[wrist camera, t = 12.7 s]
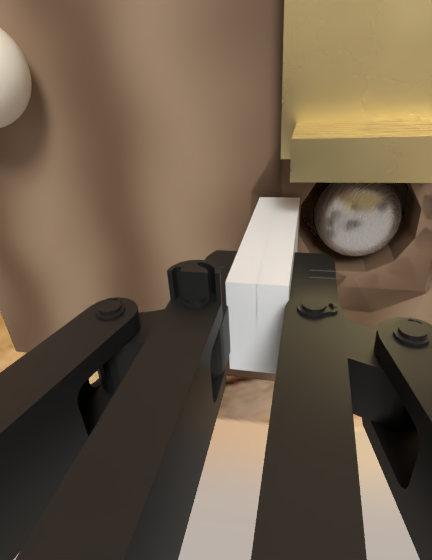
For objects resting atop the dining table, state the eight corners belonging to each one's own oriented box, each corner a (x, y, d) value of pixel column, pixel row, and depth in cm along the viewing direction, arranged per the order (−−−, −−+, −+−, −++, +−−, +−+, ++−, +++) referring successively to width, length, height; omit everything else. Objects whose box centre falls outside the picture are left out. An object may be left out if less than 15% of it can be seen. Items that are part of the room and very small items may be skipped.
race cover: (282, 154, 15) (272, 182, 11) (287, -52, 12) (276, -92, 8) (459, 152, 13) (505, 183, 10) (515, -80, 10) (604, -140, 7)
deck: (40, 327, 26) (16, 351, 24) (-72, 0, 17) (-125, -7, 15) (472, 369, 21) (490, 405, 18) (630, -85, 12) (699, -115, 10)
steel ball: (295, 250, 18) (357, 278, 15) (299, 174, 16) (369, 192, 13) (347, 231, 19) (410, 254, 17) (355, 160, 17) (427, 174, 15)
